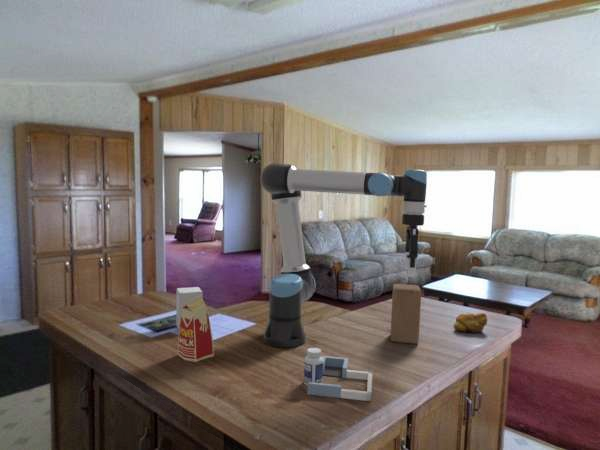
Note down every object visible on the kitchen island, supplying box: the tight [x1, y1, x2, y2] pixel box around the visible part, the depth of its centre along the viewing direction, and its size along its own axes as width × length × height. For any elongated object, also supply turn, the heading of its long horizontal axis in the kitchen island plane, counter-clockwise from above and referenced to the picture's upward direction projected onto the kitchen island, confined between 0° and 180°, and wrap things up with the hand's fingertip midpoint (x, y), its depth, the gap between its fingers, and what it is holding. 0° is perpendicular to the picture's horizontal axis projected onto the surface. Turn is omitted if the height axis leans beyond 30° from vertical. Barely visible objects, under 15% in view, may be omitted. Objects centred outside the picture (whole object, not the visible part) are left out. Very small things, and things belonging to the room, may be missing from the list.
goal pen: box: [340, 369, 373, 402], centre depth 127 cm, size 8×14×2 cm, turn 170°
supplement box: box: [175, 286, 204, 331], centre depth 175 cm, size 9×9×15 cm
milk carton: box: [177, 294, 215, 363], centre depth 146 cm, size 9×9×20 cm
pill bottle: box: [303, 347, 324, 387], centre depth 128 cm, size 5×5×10 cm
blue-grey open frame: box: [306, 355, 350, 399], centre depth 131 cm, size 10×21×3 cm, turn 170°
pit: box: [323, 366, 343, 378], centre depth 137 cm, size 6×7×1 cm
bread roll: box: [453, 313, 488, 334], centre depth 182 cm, size 13×10×8 cm
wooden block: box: [390, 283, 422, 345], centre depth 168 cm, size 10×10×20 cm
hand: (409, 273), depth 161 cm, fingers open, 13 cm apart
